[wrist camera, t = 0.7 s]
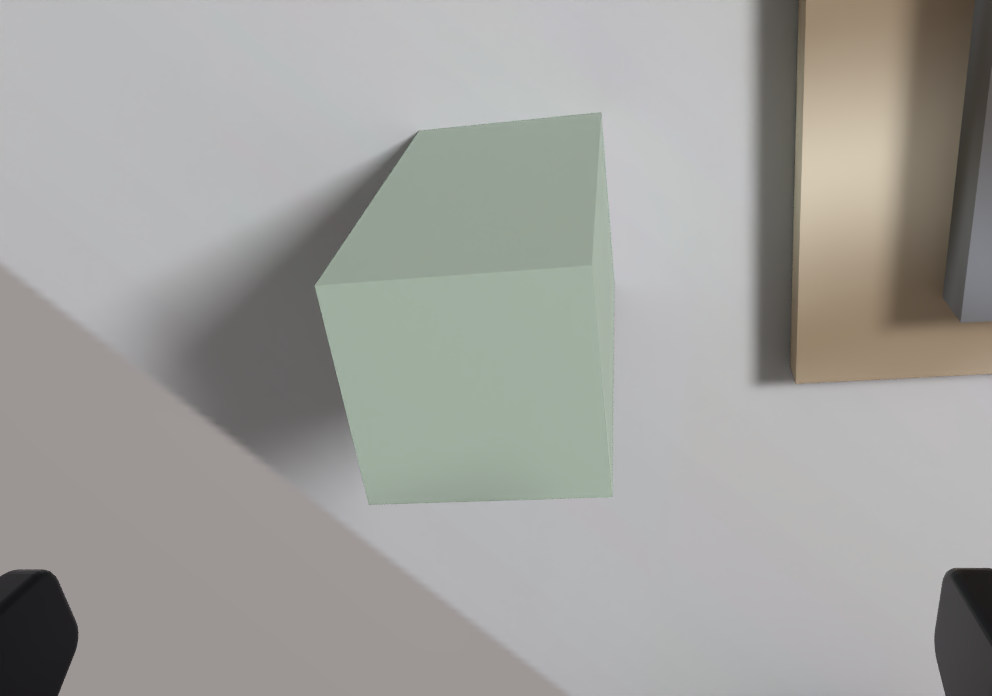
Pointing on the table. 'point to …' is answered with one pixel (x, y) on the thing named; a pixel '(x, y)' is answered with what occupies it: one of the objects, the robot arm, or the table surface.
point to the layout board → (892, 190)
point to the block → (481, 317)
